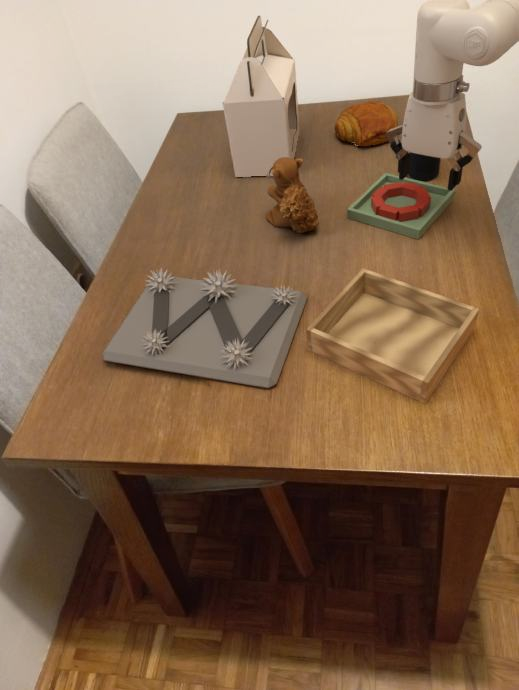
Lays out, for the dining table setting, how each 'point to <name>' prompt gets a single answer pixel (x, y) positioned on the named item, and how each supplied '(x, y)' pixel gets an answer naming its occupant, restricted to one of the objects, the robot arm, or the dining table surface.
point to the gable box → (262, 105)
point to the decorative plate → (209, 329)
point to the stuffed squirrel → (290, 198)
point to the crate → (393, 332)
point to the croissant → (366, 123)
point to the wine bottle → (423, 167)
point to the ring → (402, 212)
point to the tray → (411, 228)
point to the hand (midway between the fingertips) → (428, 181)
